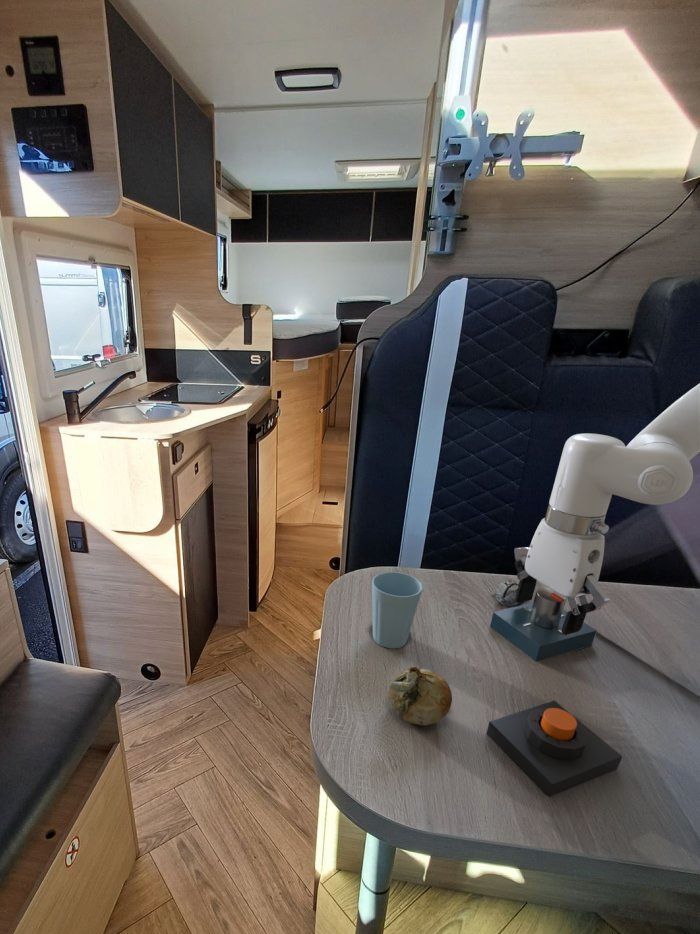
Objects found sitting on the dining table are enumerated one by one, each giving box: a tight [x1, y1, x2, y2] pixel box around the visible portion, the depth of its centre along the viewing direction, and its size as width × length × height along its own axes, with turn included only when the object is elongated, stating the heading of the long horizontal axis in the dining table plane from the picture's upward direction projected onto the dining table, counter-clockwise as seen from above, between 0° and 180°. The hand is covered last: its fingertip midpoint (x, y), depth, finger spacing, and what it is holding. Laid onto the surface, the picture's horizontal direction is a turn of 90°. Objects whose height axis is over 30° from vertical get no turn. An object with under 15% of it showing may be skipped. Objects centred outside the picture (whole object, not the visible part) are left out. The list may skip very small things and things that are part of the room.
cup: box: [371, 571, 424, 649], centre depth 83 cm, size 8×8×10 cm
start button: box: [541, 708, 577, 741], centre depth 62 cm, size 4×4×2 cm
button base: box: [486, 700, 623, 798], centre depth 63 cm, size 11×10×4 cm
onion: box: [388, 665, 453, 726], centre depth 68 cm, size 8×8×8 cm
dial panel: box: [489, 602, 598, 662], centre depth 85 cm, size 12×10×3 cm
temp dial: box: [529, 587, 568, 628], centre depth 84 cm, size 4×4×5 cm
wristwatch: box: [495, 578, 525, 607], centre depth 95 cm, size 3×5×5 cm
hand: (545, 615), depth 84 cm, fingers open, 9 cm apart
